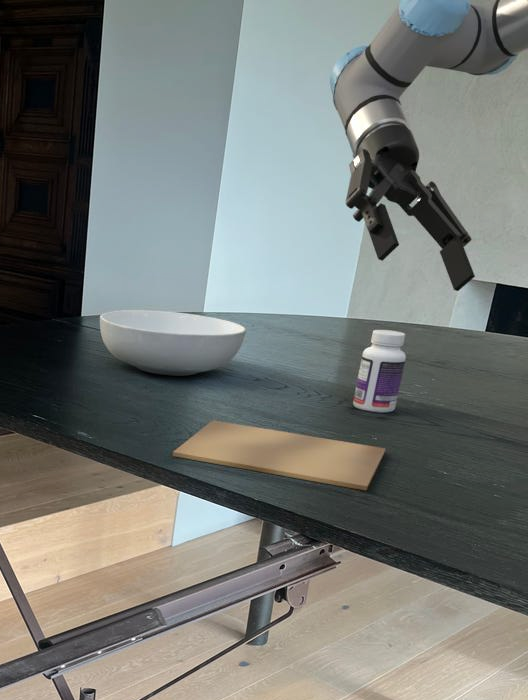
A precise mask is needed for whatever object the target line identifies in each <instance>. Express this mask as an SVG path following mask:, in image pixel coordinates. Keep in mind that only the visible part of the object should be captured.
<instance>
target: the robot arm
mask: <svg viewBox="0 0 528 700" xmlns="http://www.w3.org/2000/svg"><path fill="white" fill-rule="evenodd" d="M527 51H528V0H488V1H486V2H484V3H482V4H478V5H477V4H472V3H471V0H400V1H399V3H398V5H397V6H396V8H395V9H394V10H393V12H391V14H390V16H389V17H388V19H387V20H386V21H385V23H384V25H382V27H381V28H380V30H379V31H378V32H377V34H376V35H375V36H374V38H373V39H372V41H371V42H370V43H369V45H359V46H355V47H353V48H351V49H350V51H349V52H347V53H346V54H343V55H341V56H340V57H339V58H338V60H337V61H336V62H335V63H334V65H333V67H332V68H331V69H332V70H331V72H330V77H329V86H330V90H331V94H332V95H331V96H332V103H333V105H334V107H335V110H336V111H337V113H338V116H339V119H340V120H341V123H342V127H343V128H344V131H345V136H346V138H347V141H348V143H349V146H350V150H351V152H352V158H353V160H352V161H351V162H350V163H349V164H348V167H349V171H350V177H349V178H350V179H349V184H348V188H347V193H346V198H345V205H346V207H348V208H349V209H351V210H352V209H354V208H356V209H357V210H356V211H355V212H354V213H353V214H352V217H353V219H354V220H355V221H356V222H359V223H360V222H361V221H362V220H363V221H364V223H365V226H366V229H367V231H368V234H369V237H370V241H371V243H372V245H373V248H374V252H375V254H376V257H377V260H379V261H381V262H383V261H384V260H385V259H386V258H388V257H389V256H390V255H391V253H392V252H394V251H395V250H396V248H398V247H399V246H400V243H399V240H398V237H397V234H396V231H395V229H394V225H393V223H392V220H391V218H390V215H389V212H388V209H387V206H386V204H384V203H382V202H380V201H381V200H382V199H383V197H384V198H386V199H387V201H388V202H391V203H395V204H396V205H398V206H399V207H400V208H401V209H402V210H403V212H404V213H405V214H406V215H407V216H408V217H414V218H415V219H416V220H417V222H418V223H419V224H420V225H421V226H422V227H423V229H425V231H426V232H427V233H428V235H430V237H431V238H432V239H433V240H434V241H435V242H436V243H437V245H438V246H439V247H440V248H441V250H440V251H439V254H440V256H441V259H442V262H443V264H444V267H445V270H446V273H447V275H448V278H449V280H450V283H451V286H452V289H453V290H454V291H456V292H459V291H460V290H461V289H463V288H464V287H465V286H466V285H467V284H468V283H469V282H471V281H472V280H473V279H474V278H475V277H476V275H475V273H474V269H473V267H472V265H471V262H470V260H469V258H468V255H467V252H466V250H465V247H466V246H467V245H468V244H469V243H470V242H471V241H472V237H471V235H470V234H469V232H468V231H467V230H466V229H465V227H464V226H463V223H462V222H461V221H460V220H459V219H458V217H457V216H456V214H455V213H454V211H453V210H452V209H451V207H450V206H449V204H448V203H447V201H446V200H445V198H444V197H443V196H442V195H441V194H442V193H441V192H440V190H439V188H438V186H437V184H436V183H435V182H434V181H432V180H431V181H429V182H428V183H427V184H426V185H425V184H424V183H423V182H422V180H421V176H420V175H419V174H418V173H417V168H418V165H419V160H420V150H419V148H418V144H417V141H416V139H415V137H414V134H413V131H412V128H411V126H410V123H409V120H408V119H407V116H406V113H405V111H404V109H403V106H402V103H401V99H400V98H401V96H402V95H403V94H404V93H405V92H406V90H407V89H408V88H409V87H410V86H411V85H412V84H413V82H414V81H416V79H417V77H419V75H420V74H421V73H422V72H423V70H424V69H425V68H426V67H430V68H437V69H441V70H442V69H444V70H449V71H456V72H460V73H461V72H462V73H467V74H469V75H471V76H484V75H485V76H488V75H489V76H490V75H496V74H499V73H502V72H503V71H505V70H506V69H508V68H509V67H510V65H512V64H513V62H514V61H516V59H517V57H518V56H519V55H520V54H522V53H525V52H527ZM369 189H370V190H371V189H372V190H371V191H370V192H369V193H368V190H369ZM367 194H368V195H367ZM416 199H417V200H416ZM415 200H416V203H415V204H414V205H413V206H411V204H412V203H413V202H414V201H415ZM379 202H380V203H379Z"/></svg>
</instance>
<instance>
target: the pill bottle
mask: <svg viewBox="0 0 528 700" xmlns="http://www.w3.org/2000/svg"><path fill="white" fill-rule="evenodd" d="M405 338H406V333H405V332H401V331H398V330H397V331H396V330H390V329H389V330H388V329H375V330H373V331H372V335H371V340H370V343H372V344H371V346H369V347H366V348H365V349H364V350H363V352H362V356H361V360H360V365H359V370H358V374H357V379H356V385H355V391H354V396H353V401H352V405H353V407H354V408H356V409H358V410H361V411H366V412H371V413H372V412H373V413H379V414H380V413H382V414H384V413H385V414H386V413H391V412H394V411H395V409H396V406H397V401H398V397H399V391H400V386H401V383H402V378H403V373H404V368H405V364H406V359H407V355H406V353H405V352H404V351H403V350H402V349H401V348H402V347H403V346H404V343H405Z"/></svg>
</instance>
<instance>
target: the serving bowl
mask: <svg viewBox="0 0 528 700" xmlns="http://www.w3.org/2000/svg"><path fill="white" fill-rule="evenodd" d="M99 327H100V330H99V331H100V336H101V338H102V341H103V344H104V346H105V347H106V349H107V350H108V351H109V353H110V354H112V355H113V356H114V357H115V358H116V359H118V360H119V361H121V362H123V363H126V364H128V365H130V366H133V367H134V368H135V367H136V368H137V369H138V370H140V371H143V372H147V373H150V374H155V375H160V376H161V375H163V376H174V377H175V376H176V377H177V376H178V377H184V376H192V375H196V374H198V373H204V372H209V371H213V370H217V369H219V368H221V367H223V366H225V365H226V364H228V363H229V362H230V361H232V359H234V358H235V356H236V355H237V354H238V352H239V351H240V350H241V347H242V345H243V342H244V339H245V337H246V334H247V329H246V328H245V327H244V325H242V324H239V323H236V322H233V321H230V320H226V319H221V318H217V317H211V316H206V315H199V314H192V313H186V312H185V313H184V312H175V311H163V310H149V309H148V310H145V309H122V310H113V311H107V312H104V313H102V314H100V316H99Z"/></svg>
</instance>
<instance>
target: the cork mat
mask: <svg viewBox="0 0 528 700" xmlns="http://www.w3.org/2000/svg"><path fill="white" fill-rule="evenodd" d="M386 452H387V449H386V448H385V447H379V446H372V445H367V444H361V443H354V442H349V441H343V440H336V439H330V438H323V437H318V436H311V435H306V434H299V433H294V432H287V431H282V430H281V431H280V430H275V429H270V428H264V427H257V426H252V425H251V426H250V425H245V424H239V423H233V422H228V421H220V420H214V419H212V420H211V421H210V422H209V423H207V424H206V425H205V426H203V427H201V429H200V430H198V431H197V432H196V433H195V434H193V435H192V436H191V437H190V438H188V439H187V440H186V441H185V442H183V444H181V445H180V446H179V447H178V448H176V449H175V450H174V451H172V457H175V458H181V459H185V460H191V461H196V462H197V461H198V462H203V463H208V464H214V465H220V466H226V467H231V468H235V469H236V468H237V469H241V470H248V471H253V472H259V473H265V474H271V475H276V476H282V477H287V478H293V479H298V480H304V481H310V482H315V483H322V484H326V485H332V486H337V487H342V488H349V489H354V490H360V491H368V490H369V489H368V488H369V486H370V485H371V483H372V480H373V478H374V476H375V474H376V472H377V470H378V469H379V467H380V464H381V462H382V460H383V458H384V456H385V454H386Z"/></svg>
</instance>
